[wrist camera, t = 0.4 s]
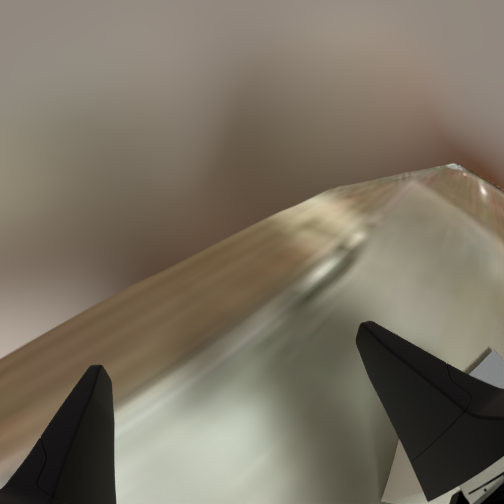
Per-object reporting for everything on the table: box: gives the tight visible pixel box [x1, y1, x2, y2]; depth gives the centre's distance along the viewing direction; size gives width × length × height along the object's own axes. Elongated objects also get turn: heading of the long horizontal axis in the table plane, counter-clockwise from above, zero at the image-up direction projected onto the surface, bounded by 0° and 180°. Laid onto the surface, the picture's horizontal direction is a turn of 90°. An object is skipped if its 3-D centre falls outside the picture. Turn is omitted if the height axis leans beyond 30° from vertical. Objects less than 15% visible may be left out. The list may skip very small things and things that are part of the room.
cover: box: [381, 440, 460, 504], centre depth 12 cm, size 6×6×10 cm
